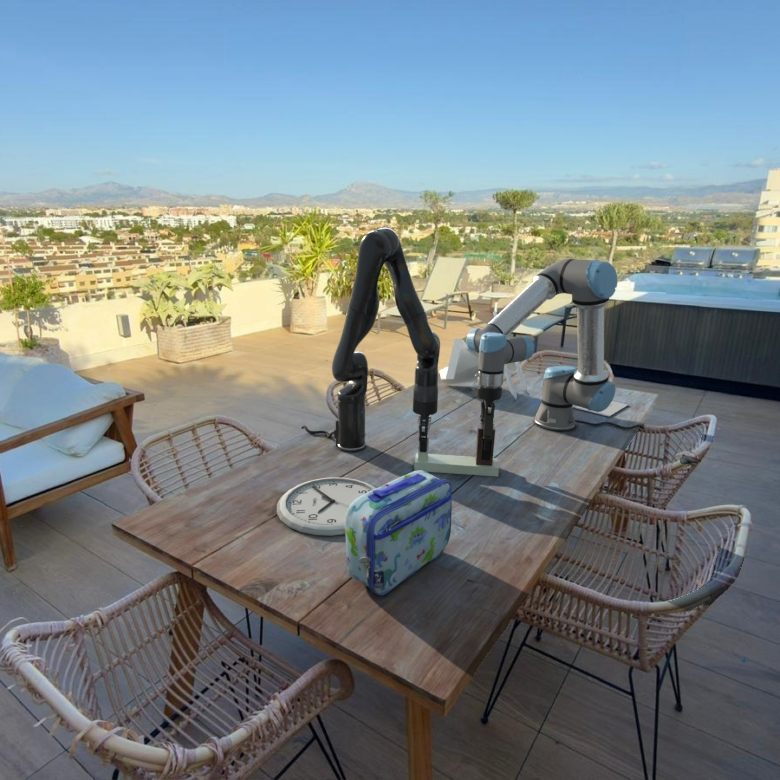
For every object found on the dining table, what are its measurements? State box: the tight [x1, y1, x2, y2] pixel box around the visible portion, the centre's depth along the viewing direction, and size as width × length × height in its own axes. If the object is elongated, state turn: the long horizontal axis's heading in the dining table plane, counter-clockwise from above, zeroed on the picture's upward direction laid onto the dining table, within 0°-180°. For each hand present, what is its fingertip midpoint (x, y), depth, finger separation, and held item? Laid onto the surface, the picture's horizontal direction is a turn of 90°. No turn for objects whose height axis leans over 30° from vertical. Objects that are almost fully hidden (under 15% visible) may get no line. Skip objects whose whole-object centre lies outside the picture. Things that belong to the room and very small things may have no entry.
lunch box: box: [344, 470, 453, 596], centre depth 114 cm, size 26×11×21 cm, turn 135°
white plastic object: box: [438, 310, 531, 400], centre depth 245 cm, size 37×45×31 cm
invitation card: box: [573, 400, 629, 418], centre depth 226 cm, size 21×1×15 cm
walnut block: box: [474, 422, 496, 466], centre depth 162 cm, size 5×5×12 cm
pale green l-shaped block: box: [413, 433, 500, 478], centre depth 164 cm, size 26×7×11 cm, turn 83°
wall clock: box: [276, 476, 377, 537], centre depth 142 cm, size 30×2×30 cm
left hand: (423, 448), depth 165 cm, fingers closed on pale green l-shaped block, 4 cm apart
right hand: (484, 450), depth 163 cm, fingers open, 13 cm apart
